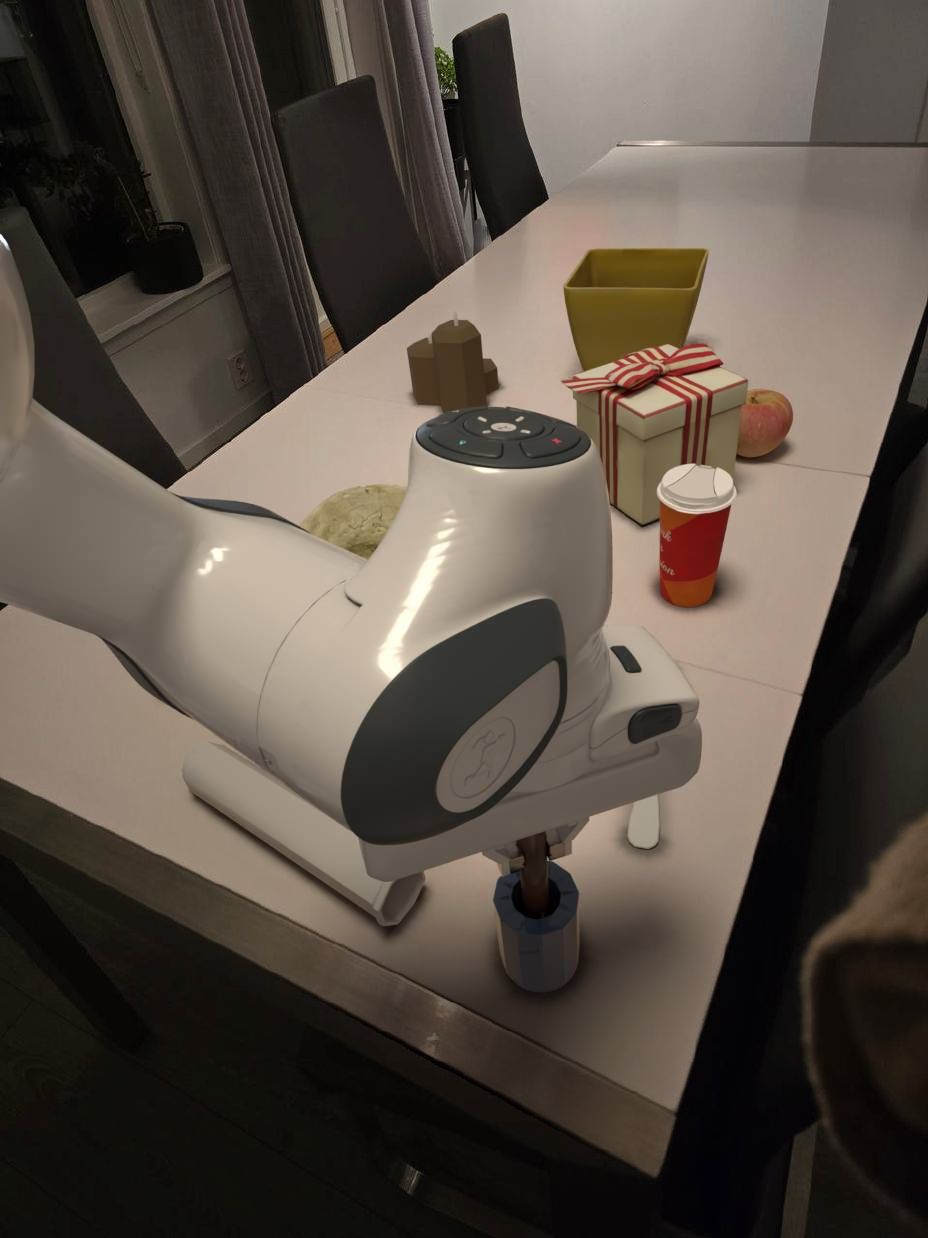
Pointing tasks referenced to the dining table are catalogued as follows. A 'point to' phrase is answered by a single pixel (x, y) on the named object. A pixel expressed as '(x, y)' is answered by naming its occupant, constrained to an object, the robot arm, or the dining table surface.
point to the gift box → (658, 419)
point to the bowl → (356, 517)
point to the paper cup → (692, 531)
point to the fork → (644, 823)
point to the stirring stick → (535, 876)
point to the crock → (538, 932)
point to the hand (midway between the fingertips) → (533, 856)
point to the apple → (763, 422)
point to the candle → (451, 367)
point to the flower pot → (632, 300)
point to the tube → (295, 829)
